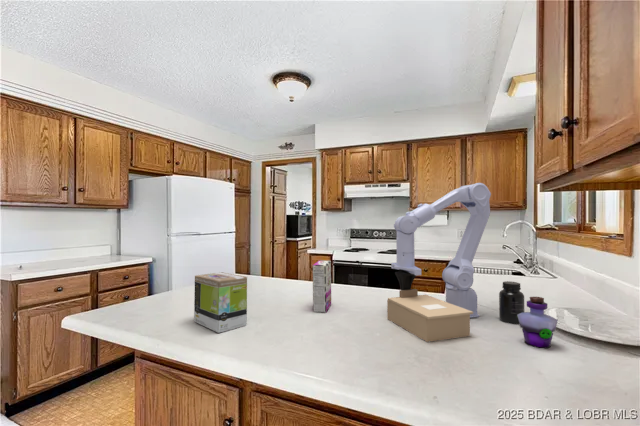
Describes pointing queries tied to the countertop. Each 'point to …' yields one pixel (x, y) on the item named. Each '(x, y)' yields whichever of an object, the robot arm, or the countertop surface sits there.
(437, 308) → the mailer lid
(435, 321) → the mailer box
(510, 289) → the supplement bottle
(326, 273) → the candy bar box
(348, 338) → the countertop surface
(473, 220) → the robot arm
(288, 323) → the countertop surface
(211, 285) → the tea box
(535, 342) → the potion bottle
